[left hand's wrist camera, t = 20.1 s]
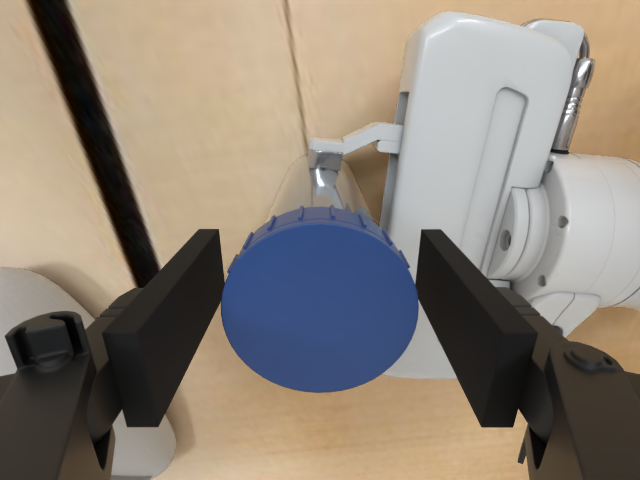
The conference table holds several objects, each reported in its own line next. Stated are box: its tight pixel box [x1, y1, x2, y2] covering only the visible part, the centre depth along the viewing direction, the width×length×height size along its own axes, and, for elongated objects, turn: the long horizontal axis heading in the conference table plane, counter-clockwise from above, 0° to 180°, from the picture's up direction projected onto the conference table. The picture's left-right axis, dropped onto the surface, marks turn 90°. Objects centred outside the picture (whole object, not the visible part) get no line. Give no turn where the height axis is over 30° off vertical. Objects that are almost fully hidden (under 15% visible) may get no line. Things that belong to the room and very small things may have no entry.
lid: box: [221, 205, 419, 393], centre depth 11 cm, size 6×6×2 cm
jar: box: [264, 154, 375, 224], centre depth 19 cm, size 5×5×16 cm
